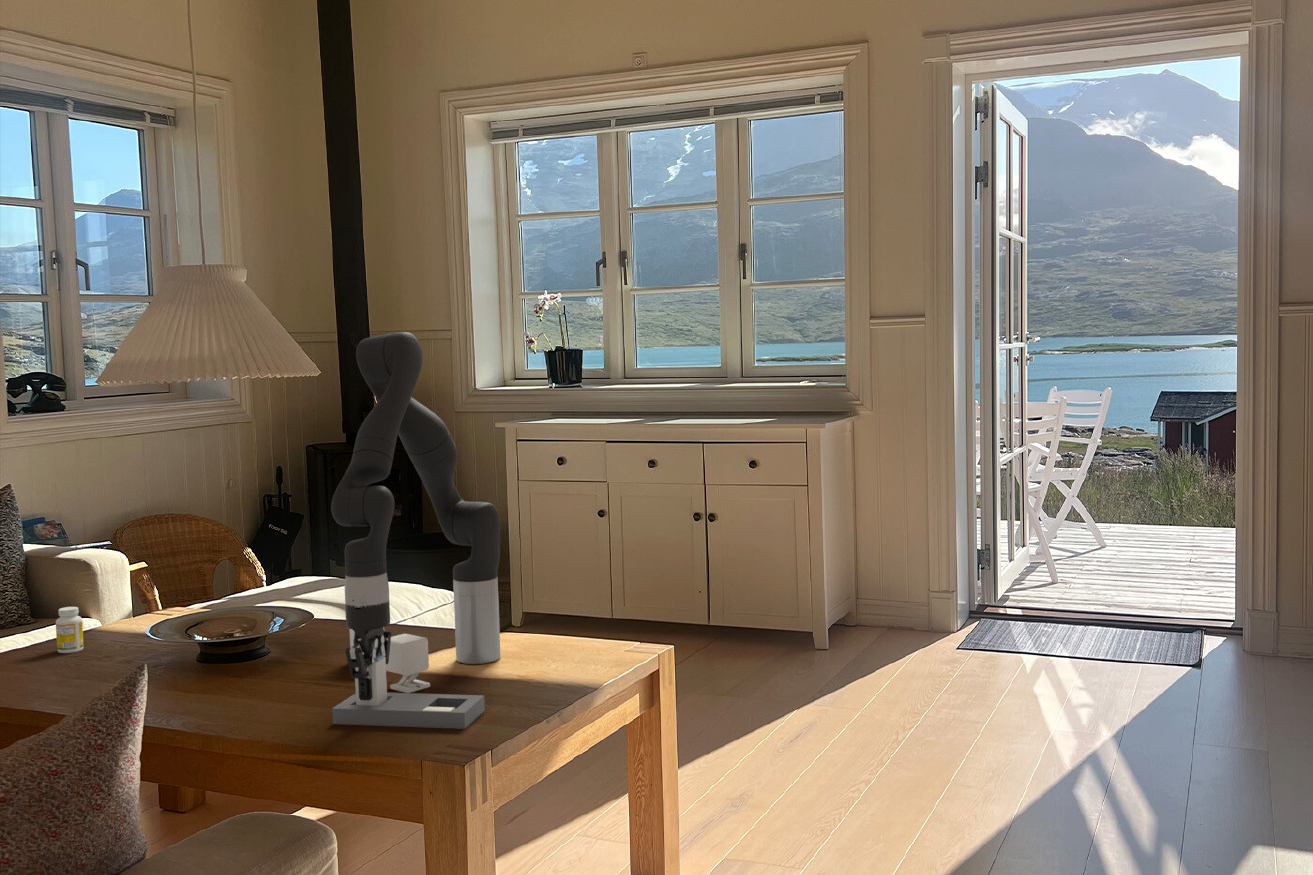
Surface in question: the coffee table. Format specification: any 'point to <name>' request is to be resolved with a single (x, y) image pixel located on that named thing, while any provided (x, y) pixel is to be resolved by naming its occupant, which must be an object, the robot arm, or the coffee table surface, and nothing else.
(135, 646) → the coffee table surface
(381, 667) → the plug
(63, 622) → the supplement bottle
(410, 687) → the white cube on bracket
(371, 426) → the robot arm
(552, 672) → the coffee table surface
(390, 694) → the socket panel
